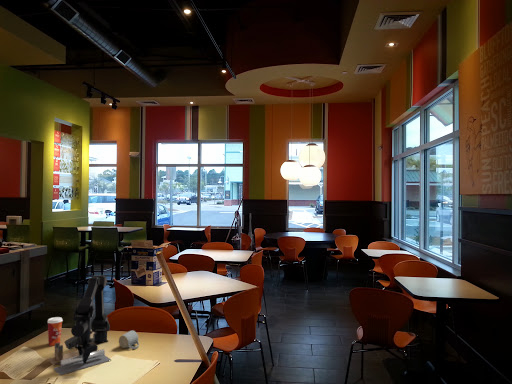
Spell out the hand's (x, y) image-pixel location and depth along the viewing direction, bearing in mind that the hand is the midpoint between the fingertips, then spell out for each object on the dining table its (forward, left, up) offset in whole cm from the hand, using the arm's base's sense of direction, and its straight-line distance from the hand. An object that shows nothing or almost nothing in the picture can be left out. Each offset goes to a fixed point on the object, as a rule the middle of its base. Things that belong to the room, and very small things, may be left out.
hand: (83, 361), depth 183 cm
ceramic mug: (-28, -6, -2) cm, 28 cm away
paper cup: (+1, -39, -2) cm, 39 cm away
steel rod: (0, 0, 0) cm, 1 cm away
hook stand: (0, -12, -1) cm, 12 cm away
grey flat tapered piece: (0, 0, -1) cm, 1 cm away
